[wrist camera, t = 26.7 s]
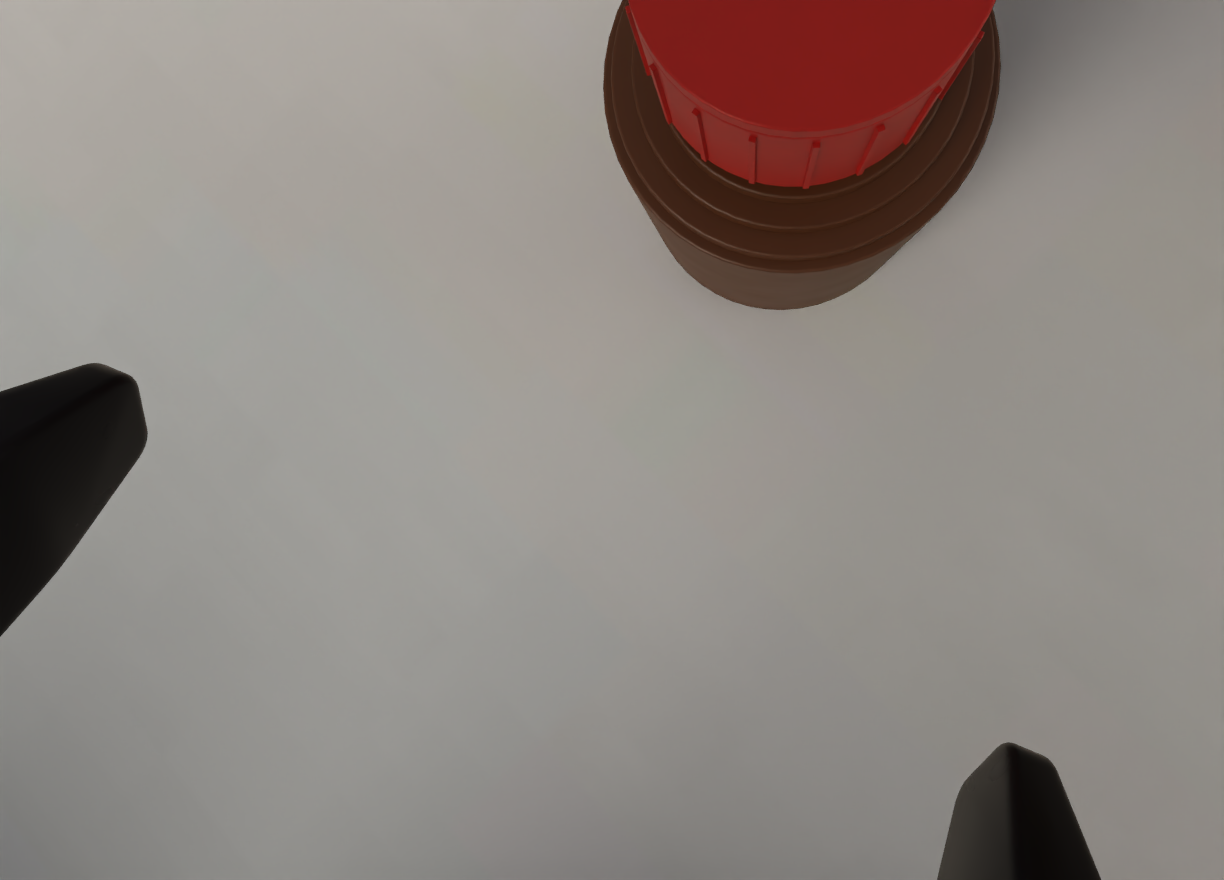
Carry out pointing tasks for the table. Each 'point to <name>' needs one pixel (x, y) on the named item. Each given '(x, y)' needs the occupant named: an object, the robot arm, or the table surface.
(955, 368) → the table surface
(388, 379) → the table surface
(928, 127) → the sauce bottle
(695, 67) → the cap
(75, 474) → the robot arm
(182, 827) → the table surface
